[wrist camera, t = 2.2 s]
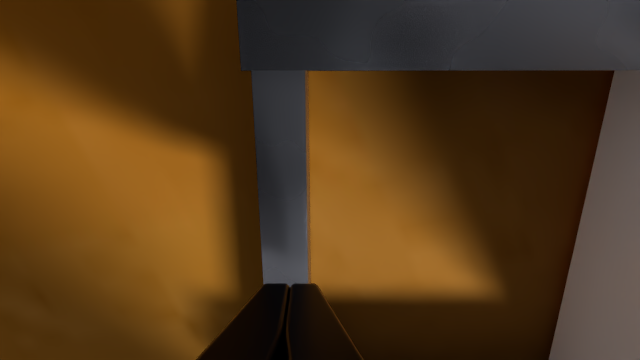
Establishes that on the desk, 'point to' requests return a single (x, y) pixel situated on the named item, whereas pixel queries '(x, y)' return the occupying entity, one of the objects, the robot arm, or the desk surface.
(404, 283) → the desk surface
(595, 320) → the pusher
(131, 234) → the desk surface
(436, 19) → the frame
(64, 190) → the desk surface
